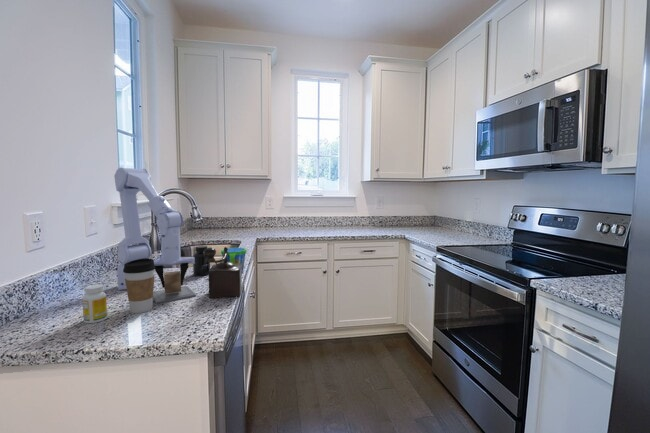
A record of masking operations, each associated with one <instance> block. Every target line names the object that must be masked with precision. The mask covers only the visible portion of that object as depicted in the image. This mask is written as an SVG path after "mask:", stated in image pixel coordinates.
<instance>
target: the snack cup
mask: <svg viewBox="0 0 650 433" xmlns="http://www.w3.org/2000/svg"><path fill="white" fill-rule="evenodd" d="M227 248H228V247H227ZM227 251H228V253H227V261H228V262H231V263H234V264H241V265H242V266H241V269H242V273H243V272H244V268H245V260H246V254H247V248H245V247H229V248H228V250H227ZM220 253H221V255H222V257H223V256H224V248H223V249H221V252H220Z"/></svg>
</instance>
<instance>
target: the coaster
mask: <svg viewBox="0 0 650 433" xmlns="http://www.w3.org/2000/svg"><path fill="white" fill-rule="evenodd" d="M194 297H197V294H196V293H195V292H194V291H193V290H192V289H191V288H190V287H189V286H187V285H182V286H181V291H180V292H172V293H165V289H161V290H156V291H154V290H153V301H155V303H156V304H157V305H159V304H164V303H169V302H174V301H178V300H184V299H190V298H194Z"/></svg>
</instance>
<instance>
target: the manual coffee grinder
mask: <svg viewBox="0 0 650 433" xmlns="http://www.w3.org/2000/svg"><path fill="white" fill-rule="evenodd" d="M223 249H224V256H222V258H221V259H215V255H216V253H217V250H216V248H214V247H207V249H205V250H204V251H203V253H204V255H205V256H206V258H207V259H206V262H208V263H210V264H212V263H215V264H213V265H212V266H210V270H209V272H208V298H209V299H231V298H233V299H234V298H240V296H241V295H242V291H243V290H242V288H243V286H242V283H243V281H242V280H243V279H242V277H243V275H242V273H243V272H242V269H241V266H242V265H241V264H234V263H231V262H228V261H227V253H228V251H227V250H228V247H227V246H224V247H223Z"/></svg>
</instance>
